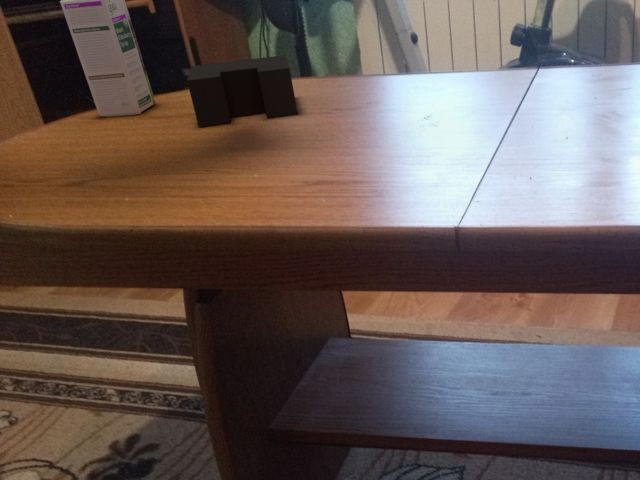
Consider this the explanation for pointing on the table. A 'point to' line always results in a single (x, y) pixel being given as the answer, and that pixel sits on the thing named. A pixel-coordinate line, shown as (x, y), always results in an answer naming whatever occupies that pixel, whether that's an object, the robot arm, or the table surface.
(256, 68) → the block
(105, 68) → the syrup box
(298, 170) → the table surface
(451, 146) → the table surface
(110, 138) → the table surface
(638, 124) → the table surface
